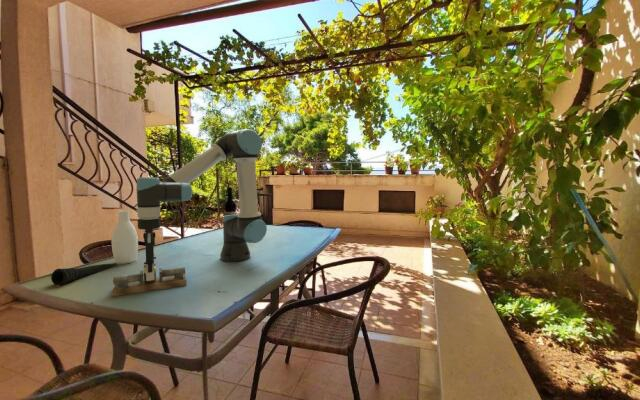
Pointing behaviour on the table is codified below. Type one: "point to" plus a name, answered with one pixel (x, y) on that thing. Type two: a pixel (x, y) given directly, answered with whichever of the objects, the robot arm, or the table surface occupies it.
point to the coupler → (145, 275)
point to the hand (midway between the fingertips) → (150, 278)
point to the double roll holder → (136, 283)
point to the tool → (76, 273)
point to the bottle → (124, 240)
